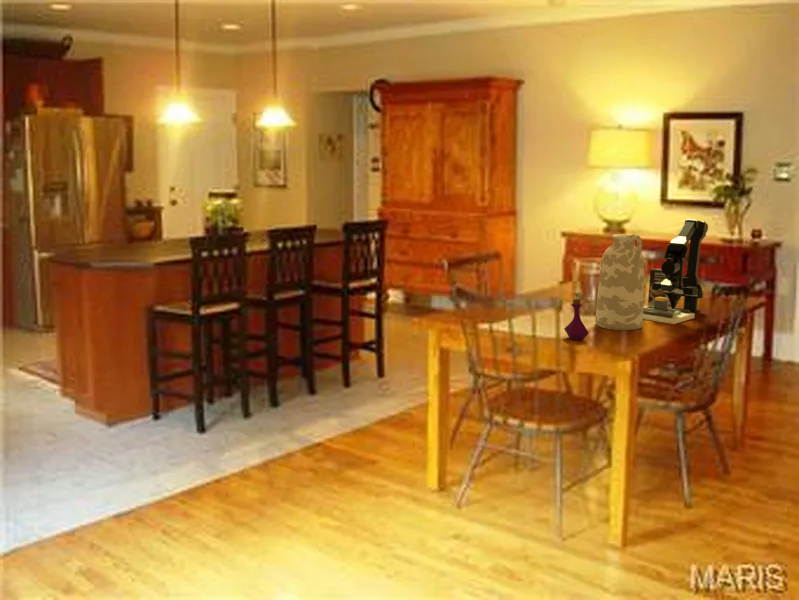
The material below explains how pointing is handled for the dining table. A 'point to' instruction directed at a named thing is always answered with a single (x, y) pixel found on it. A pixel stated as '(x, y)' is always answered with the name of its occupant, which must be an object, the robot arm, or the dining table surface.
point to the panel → (667, 314)
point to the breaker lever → (661, 303)
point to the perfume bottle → (576, 322)
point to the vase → (621, 285)
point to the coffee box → (655, 276)
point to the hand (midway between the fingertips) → (673, 308)
